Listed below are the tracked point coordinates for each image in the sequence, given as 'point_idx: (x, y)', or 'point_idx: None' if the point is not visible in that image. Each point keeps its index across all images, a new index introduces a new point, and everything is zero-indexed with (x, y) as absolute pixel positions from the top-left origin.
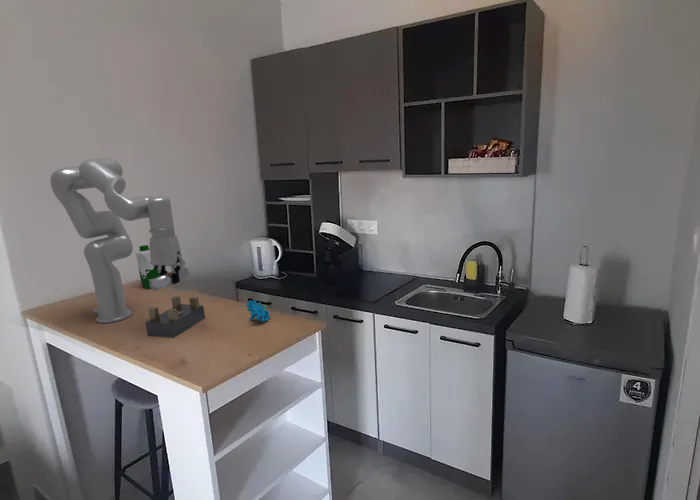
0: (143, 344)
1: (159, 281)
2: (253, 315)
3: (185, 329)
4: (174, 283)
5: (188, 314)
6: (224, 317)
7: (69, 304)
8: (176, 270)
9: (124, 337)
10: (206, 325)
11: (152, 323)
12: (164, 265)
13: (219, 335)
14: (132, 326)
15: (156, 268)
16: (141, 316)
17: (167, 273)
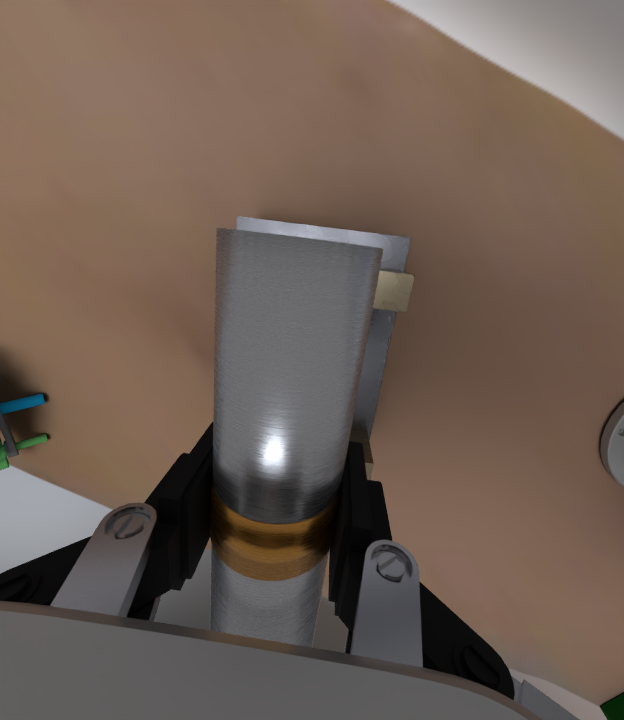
0: (359, 134)
1: (217, 265)
2: (8, 403)
3: None
4: (212, 428)
5: None
6: (166, 425)
7: None
8: (83, 546)
9: (505, 212)
10: (190, 351)
11: (364, 232)
12: (179, 627)
13: (69, 253)
14: (530, 337)
15: (461, 627)
16: (541, 440)
17: (260, 523)
